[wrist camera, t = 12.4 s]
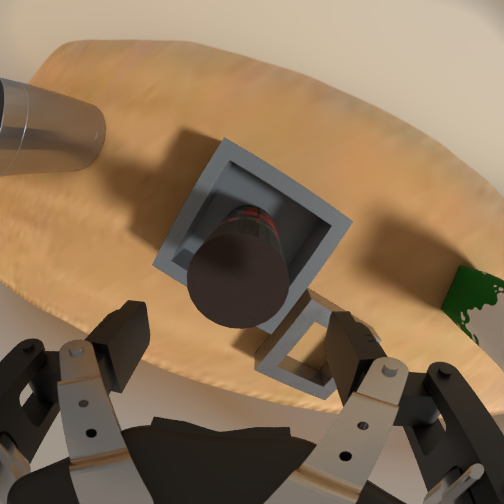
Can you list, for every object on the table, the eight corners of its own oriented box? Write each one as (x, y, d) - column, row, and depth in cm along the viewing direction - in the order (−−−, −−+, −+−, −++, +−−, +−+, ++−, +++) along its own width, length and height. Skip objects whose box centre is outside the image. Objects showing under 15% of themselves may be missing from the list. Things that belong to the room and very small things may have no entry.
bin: (170, 249, 32) (152, 265, 26) (231, 145, 29) (224, 137, 23) (269, 308, 34) (271, 334, 28) (336, 213, 30) (353, 221, 25)
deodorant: (277, 256, 31) (291, 324, 16) (224, 260, 31) (195, 330, 17) (273, 202, 29) (286, 228, 15) (218, 207, 30) (178, 238, 15)
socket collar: (254, 353, 36) (254, 369, 32) (306, 287, 33) (311, 299, 29) (320, 384, 37) (324, 400, 34) (372, 327, 34) (381, 340, 31)
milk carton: (433, 313, 34) (514, 394, 14) (458, 256, 31) (558, 314, 12) (465, 322, 34) (537, 390, 15) (488, 272, 32) (572, 325, 12)
